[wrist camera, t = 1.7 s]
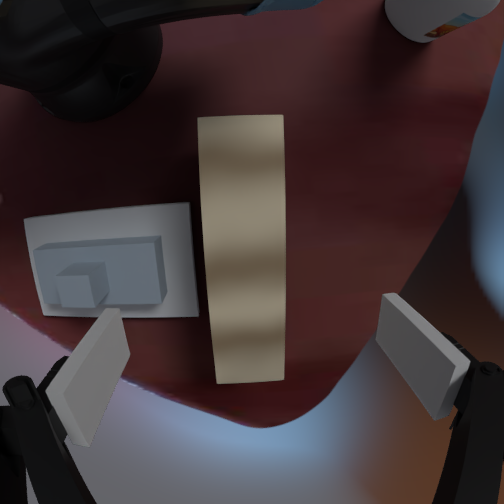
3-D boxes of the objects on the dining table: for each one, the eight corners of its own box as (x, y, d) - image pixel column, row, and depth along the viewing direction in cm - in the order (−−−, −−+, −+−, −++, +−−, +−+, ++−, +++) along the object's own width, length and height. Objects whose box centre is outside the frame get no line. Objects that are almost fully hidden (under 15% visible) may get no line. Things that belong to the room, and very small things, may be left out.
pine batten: (204, 127, 26) (197, 117, 20) (272, 124, 26) (283, 115, 21) (218, 348, 32) (217, 383, 26) (275, 345, 33) (283, 379, 27)
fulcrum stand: (29, 217, 30) (-14, 233, 22) (190, 201, 31) (176, 214, 23) (48, 311, 33) (15, 343, 25) (199, 311, 34) (191, 352, 26)
